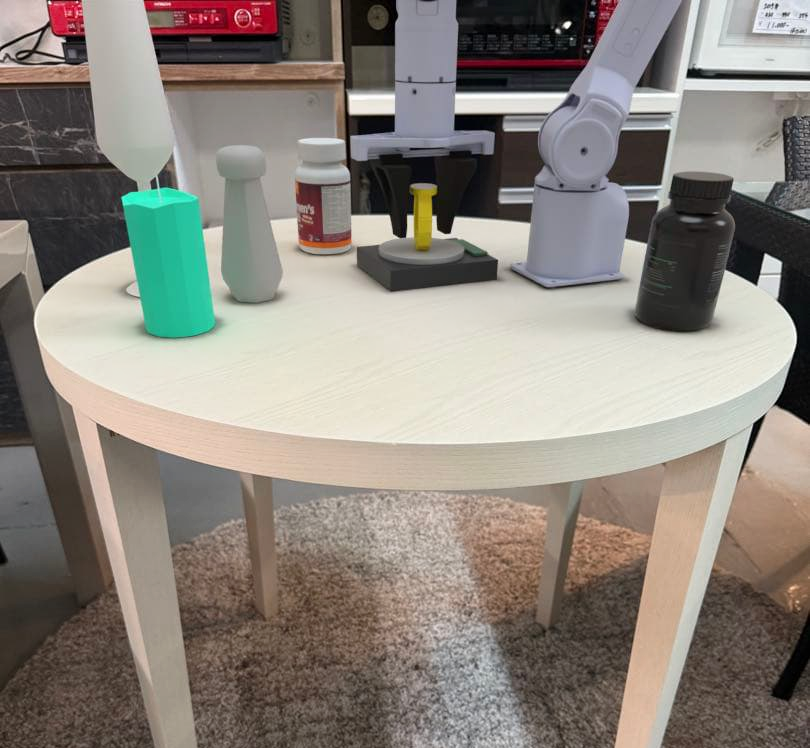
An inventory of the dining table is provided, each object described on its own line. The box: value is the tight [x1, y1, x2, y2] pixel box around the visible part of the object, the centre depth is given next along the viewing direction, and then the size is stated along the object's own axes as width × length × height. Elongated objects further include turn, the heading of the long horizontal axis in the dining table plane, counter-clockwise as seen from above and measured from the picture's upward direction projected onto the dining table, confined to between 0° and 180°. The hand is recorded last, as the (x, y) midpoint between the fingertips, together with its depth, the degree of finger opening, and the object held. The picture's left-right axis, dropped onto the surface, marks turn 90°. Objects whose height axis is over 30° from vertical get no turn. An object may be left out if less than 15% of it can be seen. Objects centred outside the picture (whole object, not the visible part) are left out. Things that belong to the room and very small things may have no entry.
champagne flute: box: [81, 0, 176, 298], centre depth 68 cm, size 7×7×24 cm
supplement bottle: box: [634, 171, 736, 332], centre depth 66 cm, size 7×7×12 cm
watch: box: [409, 182, 437, 250], centre depth 78 cm, size 6×3×6 cm, turn 4°
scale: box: [356, 236, 499, 292], centre depth 80 cm, size 12×10×3 cm
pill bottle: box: [294, 137, 353, 255], centre depth 85 cm, size 6×6×11 cm
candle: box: [121, 175, 216, 339], centre depth 63 cm, size 6×6×12 cm
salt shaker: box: [215, 144, 284, 304], centre depth 70 cm, size 6×6×13 cm
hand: (421, 234), depth 78 cm, fingers open, 4 cm apart
